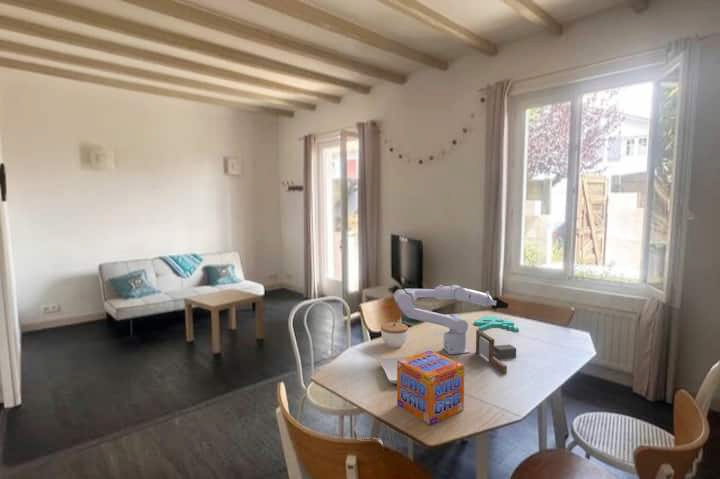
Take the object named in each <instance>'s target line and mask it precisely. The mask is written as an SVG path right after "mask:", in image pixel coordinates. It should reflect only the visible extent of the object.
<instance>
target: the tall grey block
mask: <svg viewBox="0 0 720 479" xmlns="http://www.w3.org/2000/svg"><path fill="white" fill-rule="evenodd" d="M494 357H495V358H497V359H498V360H502V359H513V358H517V348H516V347H515V346H513V345H511V344H510V343H509V344H500V345H499V344H498V345H494Z"/></svg>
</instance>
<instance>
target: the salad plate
mask: <svg viewBox="0 0 720 479" xmlns="http://www.w3.org/2000/svg"><path fill="white" fill-rule="evenodd" d="M408 357H409V356H400V357H399V356H397V357H385V358H384V357H383V358H379V359H377V362H378V364H379V365H380V366H381V367H382V369H383V370H384V373H385V375H386V377H387V379H388V381H389V383H392V384H395V385H397V361H398V360H402V359H405V358H408Z"/></svg>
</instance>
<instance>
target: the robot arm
mask: <svg viewBox="0 0 720 479" xmlns="http://www.w3.org/2000/svg"><path fill="white" fill-rule="evenodd" d="M431 297H432V298H435V299H436V300H453V299H455V300H457V301H459V302H461V301H465V302H467V303H472V304H474V305H475V304H476V305H479V306H482V307H484V308H486V307H489V306H491V310H497V309H508V308H509V303H508V302H505V301H503V300H502V299H500V298H499V297H498V296H494V297H493V296H491V295H490V291H487V290H486V291H485V292H481V291H478V290H475V289H470V288H465V287H462V286H459V285H458V284H451V285H450V286H447V285H446V286H444V285H443V284H439V286H436V287H434V289H432V288H404V289H403V288H399V289H396V291H394V292H393V299H394V301H395V304H396V305H397V306H398V308H399V310H401V311H402V313H403V315H405V317H407V318H409V319H412V320H417V321H421V322H426V323H430V324H433V325H434V324H435V325H439V326H443V327H446V328H448V329H449V331H445V332H444V334H443V347H442V349H443V350H445V352H447V353H448V354H449V355H458V354H468V353H470V350H468V349H467V344H466V343H467V330H468V329H469V323H468V322H467V321H466V320H465V319H463V318H462V317H461V316H460V315H459V314H456V313H455V314H447V313H446V314H442V313H438V312H436V311H435V312H434V311H430V310H427V309H426V310H425V309H424V308H423V309H422V308H419V307H418V308H417V307H414V305H413V303H414V302H416V300H418V298H431Z"/></svg>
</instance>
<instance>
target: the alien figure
mask: <svg viewBox="0 0 720 479" xmlns="http://www.w3.org/2000/svg"><path fill="white" fill-rule="evenodd" d="M474 325H475V326H476V325H477V326H476V327H478V328H477V330H481V331H482V332H484V331H485V330H488V329H491V328H502V329H504V330H508V331H513V332H515V333H519V332H520V329H519V326H515V323H514V322H513V320H508V319H503V318H502V317H497V316H484V317H481V318H477V319H474Z"/></svg>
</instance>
